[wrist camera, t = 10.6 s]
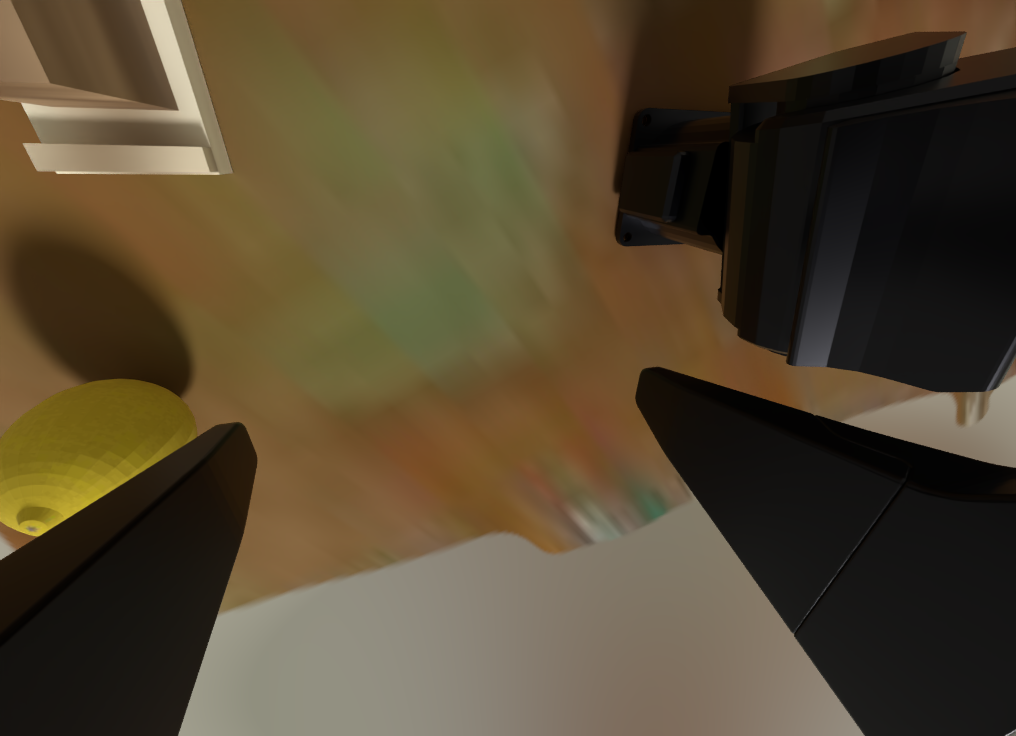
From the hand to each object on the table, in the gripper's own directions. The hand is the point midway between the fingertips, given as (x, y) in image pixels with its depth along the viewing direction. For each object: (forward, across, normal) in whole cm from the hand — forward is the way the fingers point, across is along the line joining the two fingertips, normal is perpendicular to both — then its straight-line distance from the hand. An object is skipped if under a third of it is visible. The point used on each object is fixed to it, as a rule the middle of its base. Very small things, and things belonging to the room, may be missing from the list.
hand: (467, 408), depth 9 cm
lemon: (+13, +14, +6) cm, 20 cm away
